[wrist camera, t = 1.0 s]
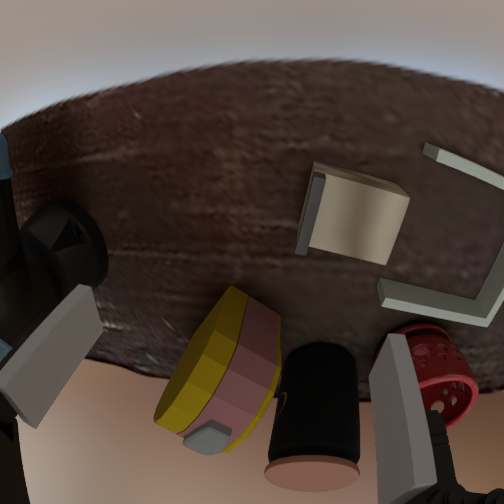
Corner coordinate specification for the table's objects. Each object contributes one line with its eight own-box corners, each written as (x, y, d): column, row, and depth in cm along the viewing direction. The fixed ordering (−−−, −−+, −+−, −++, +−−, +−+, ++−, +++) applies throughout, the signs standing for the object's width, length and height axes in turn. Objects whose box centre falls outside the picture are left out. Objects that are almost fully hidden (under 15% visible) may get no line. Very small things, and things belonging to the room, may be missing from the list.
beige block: (299, 223, 33) (294, 253, 27) (313, 160, 30) (313, 176, 24) (377, 242, 32) (389, 276, 26) (396, 183, 29) (416, 205, 23)
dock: (376, 286, 35) (381, 306, 31) (425, 142, 26) (439, 148, 23) (476, 308, 33) (487, 327, 30) (529, 190, 25) (547, 201, 21)
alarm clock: (235, 367, 45) (201, 472, 29) (188, 340, 45) (138, 442, 29) (293, 309, 38) (273, 439, 22) (237, 274, 37) (184, 398, 21)
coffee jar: (277, 343, 41) (253, 460, 26) (355, 336, 39) (362, 458, 23) (289, 390, 46) (273, 491, 30) (356, 385, 43) (358, 490, 27)
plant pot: (453, 362, 38) (472, 424, 27) (375, 384, 42) (380, 449, 32) (454, 298, 33) (487, 365, 23) (361, 325, 38) (369, 400, 27)
